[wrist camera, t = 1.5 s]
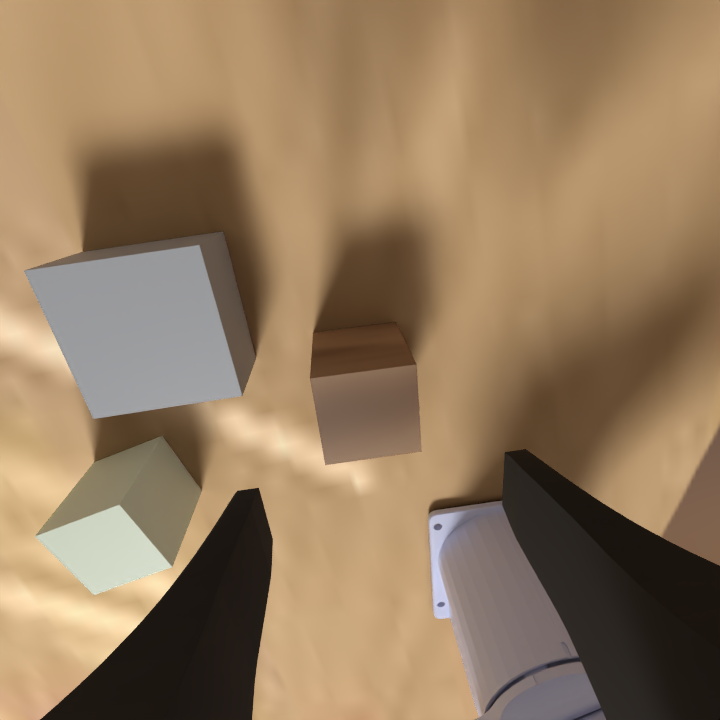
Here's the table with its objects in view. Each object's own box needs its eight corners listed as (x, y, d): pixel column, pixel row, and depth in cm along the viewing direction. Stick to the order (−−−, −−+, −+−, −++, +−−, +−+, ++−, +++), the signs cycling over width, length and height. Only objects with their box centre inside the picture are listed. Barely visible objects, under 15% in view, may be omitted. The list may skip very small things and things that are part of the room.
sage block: (202, 490, 23) (172, 567, 19) (138, 514, 24) (94, 595, 19) (162, 435, 22) (119, 504, 17) (94, 461, 22) (34, 536, 17)
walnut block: (401, 393, 22) (421, 451, 17) (325, 404, 22) (325, 464, 17) (395, 321, 20) (416, 364, 16) (313, 332, 20) (310, 378, 15)
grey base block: (256, 356, 20) (242, 396, 17) (134, 375, 20) (93, 418, 17) (224, 230, 18) (199, 245, 14) (84, 250, 18) (24, 270, 14)
